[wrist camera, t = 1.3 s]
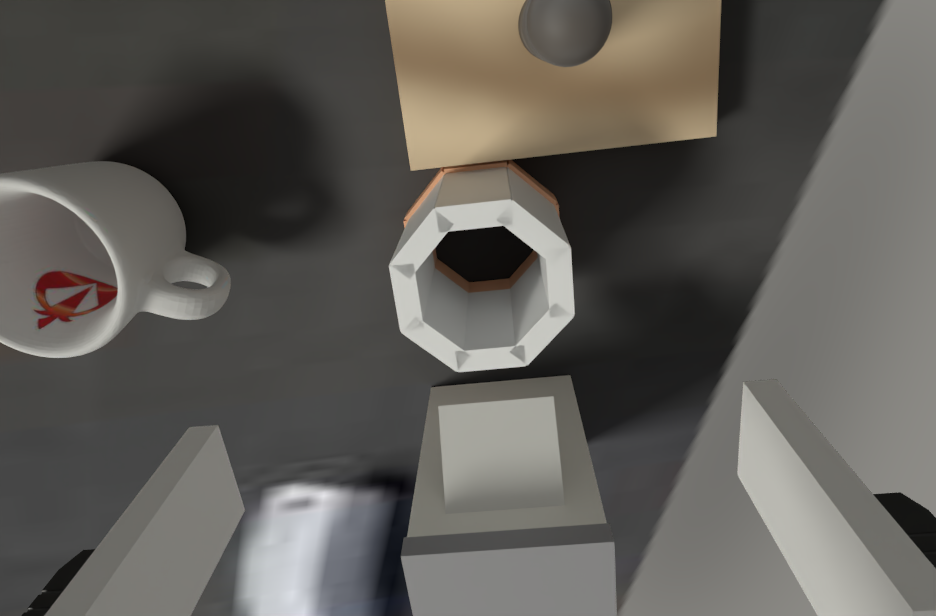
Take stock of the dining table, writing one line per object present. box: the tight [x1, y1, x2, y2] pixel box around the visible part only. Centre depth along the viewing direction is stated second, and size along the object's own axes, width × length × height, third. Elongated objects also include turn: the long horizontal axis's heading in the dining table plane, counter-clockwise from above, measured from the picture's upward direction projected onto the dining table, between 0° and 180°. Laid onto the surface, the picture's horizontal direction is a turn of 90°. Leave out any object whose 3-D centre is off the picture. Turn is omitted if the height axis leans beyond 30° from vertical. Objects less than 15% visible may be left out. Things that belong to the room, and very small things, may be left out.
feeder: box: [401, 375, 617, 616], centre depth 30 cm, size 9×8×13 cm
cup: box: [0, 161, 231, 358], centre depth 30 cm, size 11×8×8 cm
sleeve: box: [389, 159, 575, 372], centre depth 29 cm, size 8×8×8 cm
